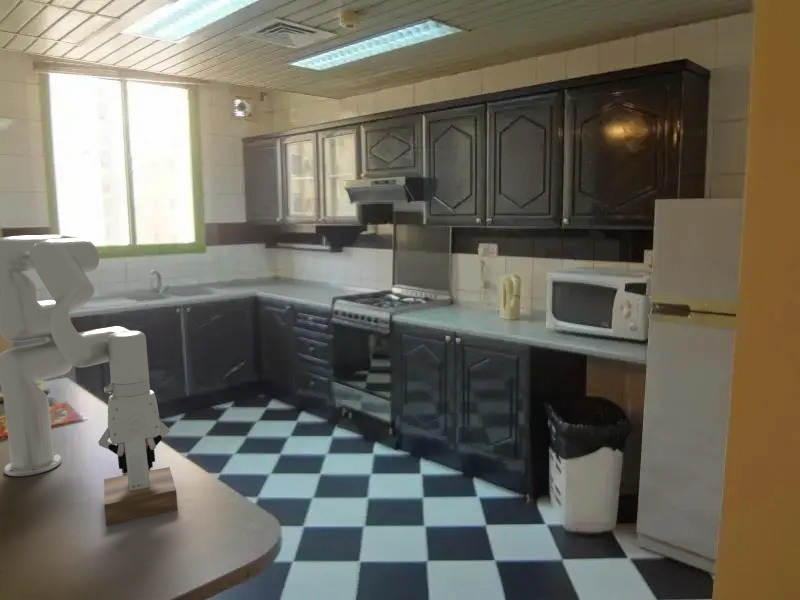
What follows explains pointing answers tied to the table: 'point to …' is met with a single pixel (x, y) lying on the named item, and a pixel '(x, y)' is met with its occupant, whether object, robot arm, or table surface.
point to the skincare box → (137, 463)
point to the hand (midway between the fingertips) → (137, 467)
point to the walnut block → (139, 497)
